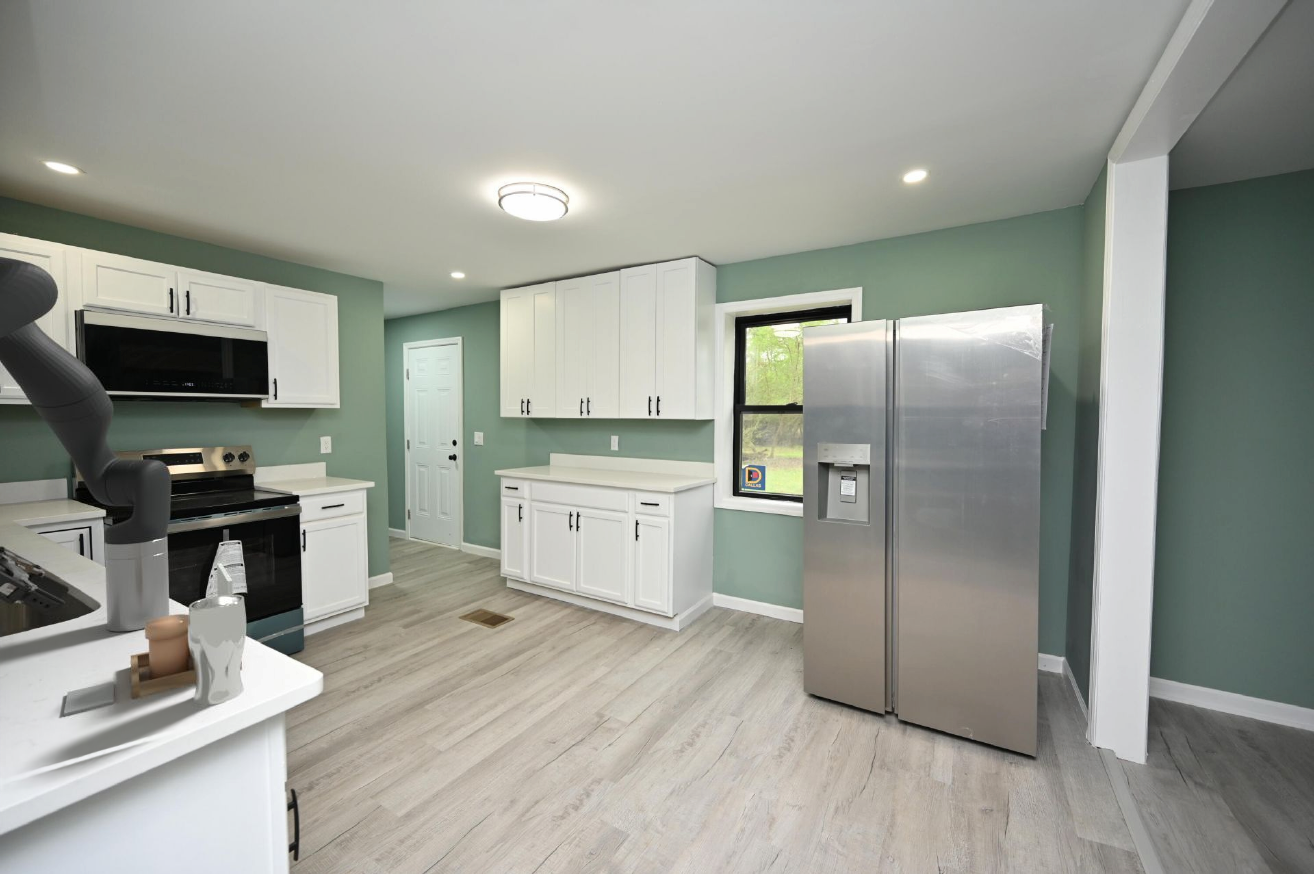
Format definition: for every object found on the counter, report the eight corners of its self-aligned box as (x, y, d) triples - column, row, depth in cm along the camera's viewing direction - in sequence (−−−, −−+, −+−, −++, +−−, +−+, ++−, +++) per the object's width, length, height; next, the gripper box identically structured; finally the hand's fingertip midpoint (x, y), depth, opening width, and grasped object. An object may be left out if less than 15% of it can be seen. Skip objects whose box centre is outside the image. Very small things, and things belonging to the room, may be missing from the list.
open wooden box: (131, 670, 93) (129, 602, 93) (230, 647, 102) (229, 585, 102) (132, 702, 83) (130, 626, 83) (242, 674, 92) (241, 605, 92)
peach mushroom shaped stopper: (145, 674, 91) (144, 620, 90) (190, 664, 94) (189, 611, 94) (147, 687, 87) (145, 630, 86) (193, 675, 90) (192, 621, 90)
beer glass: (235, 707, 82) (233, 607, 82) (179, 714, 80) (176, 611, 80) (255, 685, 89) (253, 592, 88) (203, 690, 87) (201, 596, 86)
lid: (217, 612, 101) (216, 563, 100) (222, 611, 101) (221, 562, 101) (229, 635, 91) (227, 581, 90) (233, 634, 91) (232, 580, 91)
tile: (67, 698, 84) (67, 692, 84) (114, 687, 87) (113, 681, 87) (64, 720, 78) (63, 713, 78) (113, 707, 82) (113, 701, 82)
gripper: (-49, 521, 70) (84, 592, 78) (-28, 506, 80) (88, 570, 88) (-119, 570, 66) (29, 639, 75) (-87, 548, 77) (40, 611, 85)
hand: (61, 602), depth 82 cm, fingers open, 8 cm apart
